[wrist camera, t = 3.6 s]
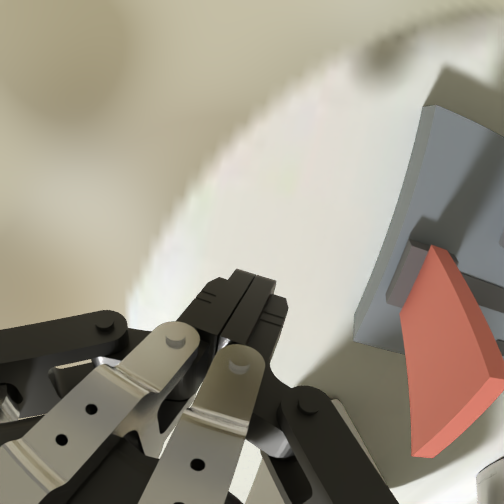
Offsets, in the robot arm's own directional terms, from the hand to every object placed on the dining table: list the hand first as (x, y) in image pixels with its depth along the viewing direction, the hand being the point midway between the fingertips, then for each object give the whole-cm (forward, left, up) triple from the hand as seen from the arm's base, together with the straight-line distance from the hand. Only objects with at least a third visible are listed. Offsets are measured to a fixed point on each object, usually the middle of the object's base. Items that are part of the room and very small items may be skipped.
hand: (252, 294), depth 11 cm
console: (-16, -1, -10) cm, 19 cm away
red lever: (-8, 0, -6) cm, 10 cm away
